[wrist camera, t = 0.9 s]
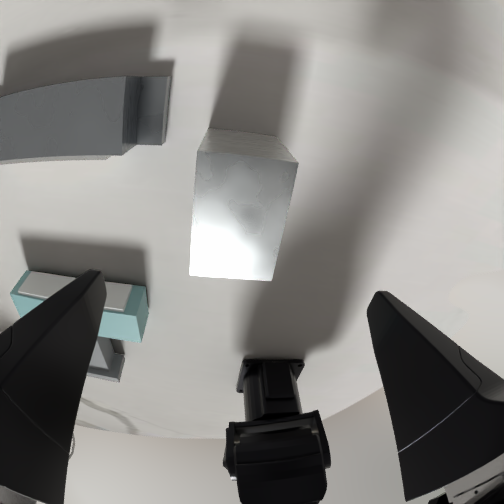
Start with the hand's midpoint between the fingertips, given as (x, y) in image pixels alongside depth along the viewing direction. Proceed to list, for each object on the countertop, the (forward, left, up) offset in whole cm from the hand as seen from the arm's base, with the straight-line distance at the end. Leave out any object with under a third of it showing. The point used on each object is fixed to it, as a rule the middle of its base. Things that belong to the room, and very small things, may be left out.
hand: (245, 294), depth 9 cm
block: (0, 0, -10) cm, 10 cm away
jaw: (-14, +12, -10) cm, 21 cm away
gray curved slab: (+4, +12, -10) cm, 16 cm away
